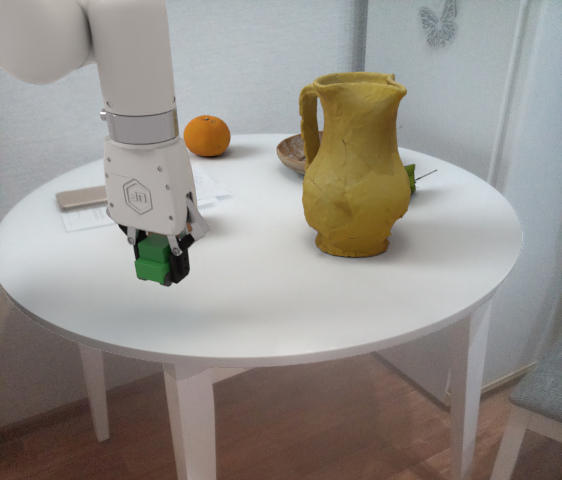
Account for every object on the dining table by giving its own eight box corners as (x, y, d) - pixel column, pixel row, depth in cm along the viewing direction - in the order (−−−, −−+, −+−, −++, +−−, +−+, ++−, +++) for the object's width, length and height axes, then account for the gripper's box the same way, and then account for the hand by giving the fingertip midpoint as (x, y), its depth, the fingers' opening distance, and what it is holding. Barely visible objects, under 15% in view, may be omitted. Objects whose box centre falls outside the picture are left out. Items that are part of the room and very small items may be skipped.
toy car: (165, 290, 70) (160, 253, 66) (136, 282, 71) (129, 246, 68) (190, 269, 74) (187, 233, 71) (162, 262, 75) (158, 227, 72)
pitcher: (319, 270, 85) (328, 88, 70) (286, 227, 100) (288, 68, 85) (421, 258, 89) (450, 83, 74) (375, 218, 103) (391, 64, 89)
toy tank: (361, 174, 103) (407, 176, 96) (416, 150, 113) (462, 150, 107) (364, 213, 106) (409, 216, 100) (417, 186, 117) (462, 188, 110)
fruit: (209, 164, 124) (206, 126, 119) (176, 155, 129) (172, 118, 124) (240, 152, 130) (238, 115, 125) (208, 144, 135) (205, 108, 130)
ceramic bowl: (302, 146, 133) (302, 124, 130) (398, 159, 125) (401, 136, 122) (258, 179, 117) (257, 154, 113) (366, 196, 109) (368, 170, 106)
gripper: (58, 124, 61) (92, 273, 72) (191, 146, 55) (205, 303, 67) (102, 108, 66) (128, 249, 78) (228, 126, 61) (235, 275, 72)
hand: (163, 273), depth 72 cm, fingers closed on toy car, 4 cm apart
